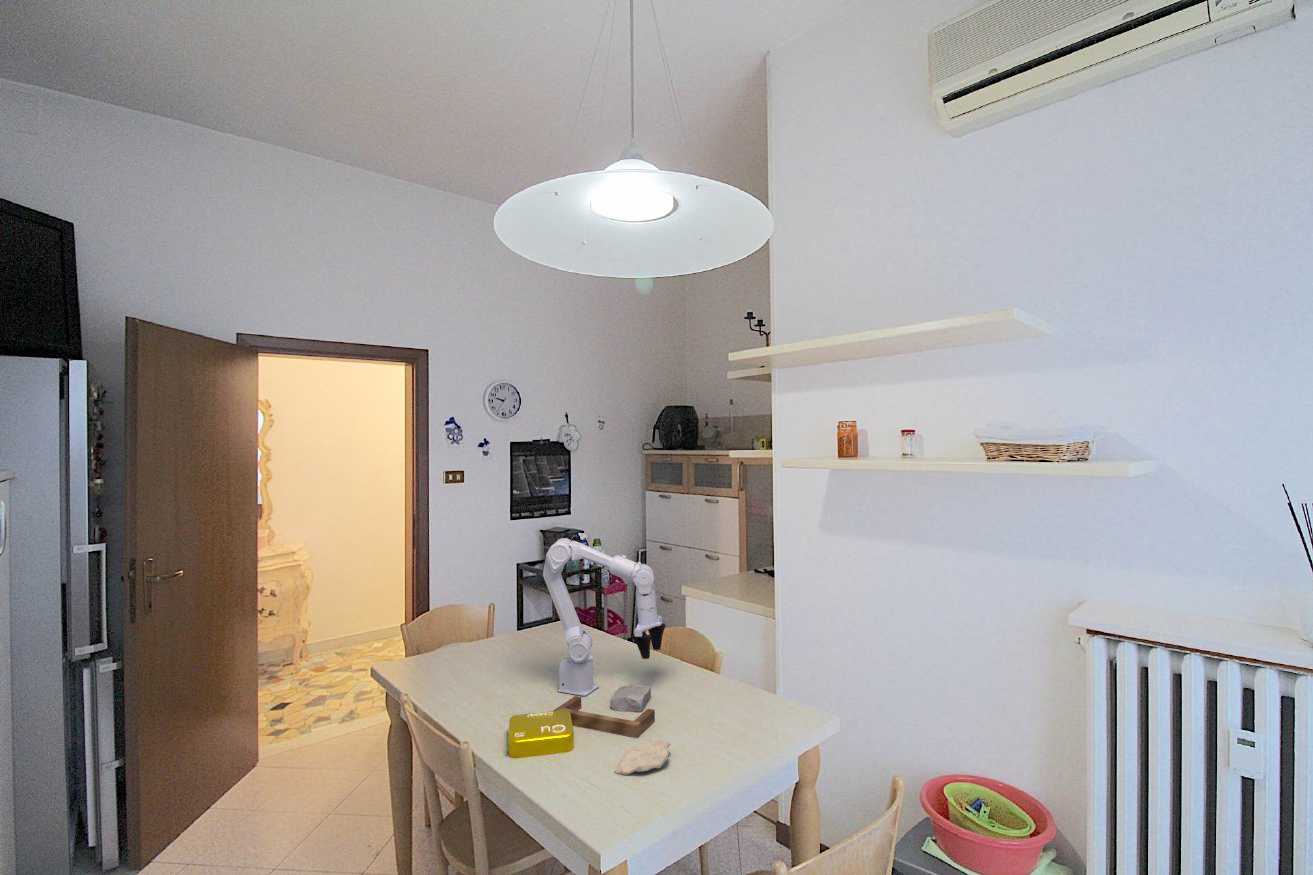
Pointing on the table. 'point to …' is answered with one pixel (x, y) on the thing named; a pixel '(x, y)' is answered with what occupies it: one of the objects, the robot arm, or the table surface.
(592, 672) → the robot arm
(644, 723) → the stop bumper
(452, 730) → the table surface
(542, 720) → the element tile
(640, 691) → the stone block
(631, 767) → the decorative stone
